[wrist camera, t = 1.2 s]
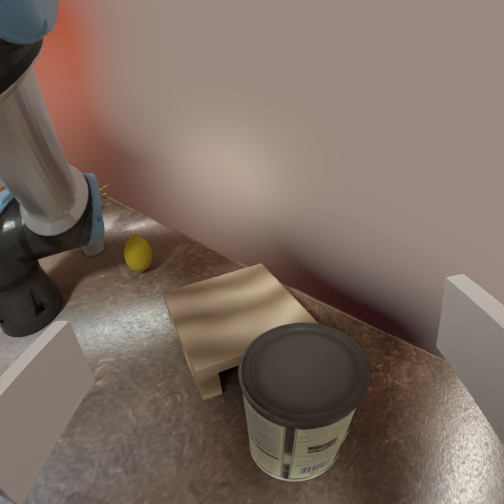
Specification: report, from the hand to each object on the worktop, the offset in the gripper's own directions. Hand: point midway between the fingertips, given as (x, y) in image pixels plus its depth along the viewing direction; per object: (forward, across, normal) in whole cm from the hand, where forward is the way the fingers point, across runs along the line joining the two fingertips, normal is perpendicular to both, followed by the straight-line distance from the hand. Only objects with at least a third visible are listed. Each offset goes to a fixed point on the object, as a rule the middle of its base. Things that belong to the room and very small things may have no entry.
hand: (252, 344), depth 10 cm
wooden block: (+30, -6, -19) cm, 36 cm away
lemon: (+48, -26, -14) cm, 56 cm away
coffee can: (+14, +1, -24) cm, 28 cm away
